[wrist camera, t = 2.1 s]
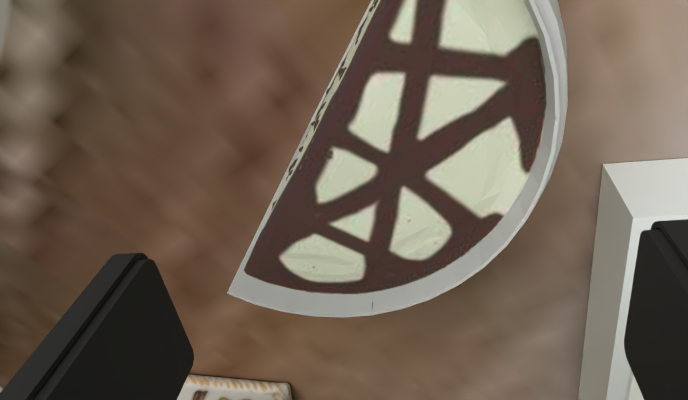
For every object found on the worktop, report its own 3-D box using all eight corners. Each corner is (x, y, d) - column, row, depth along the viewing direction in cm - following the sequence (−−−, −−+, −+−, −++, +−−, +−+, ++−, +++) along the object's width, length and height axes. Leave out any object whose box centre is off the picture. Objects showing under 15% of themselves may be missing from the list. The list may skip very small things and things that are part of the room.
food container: (413, 210, 25) (402, 387, 16) (295, 150, 24) (220, 305, 15) (596, -45, 18) (738, 33, 10) (441, -140, 17) (449, -145, 9)
